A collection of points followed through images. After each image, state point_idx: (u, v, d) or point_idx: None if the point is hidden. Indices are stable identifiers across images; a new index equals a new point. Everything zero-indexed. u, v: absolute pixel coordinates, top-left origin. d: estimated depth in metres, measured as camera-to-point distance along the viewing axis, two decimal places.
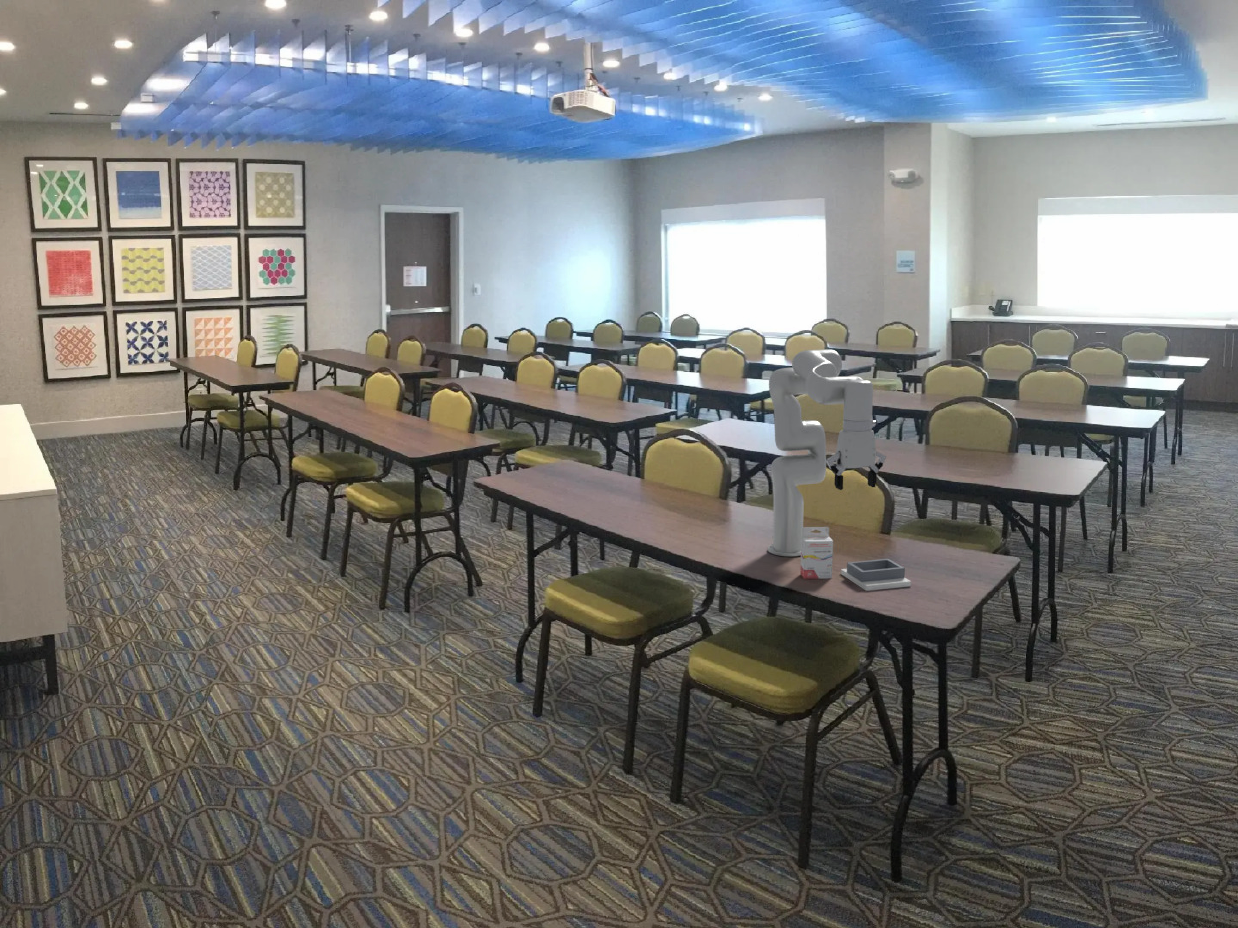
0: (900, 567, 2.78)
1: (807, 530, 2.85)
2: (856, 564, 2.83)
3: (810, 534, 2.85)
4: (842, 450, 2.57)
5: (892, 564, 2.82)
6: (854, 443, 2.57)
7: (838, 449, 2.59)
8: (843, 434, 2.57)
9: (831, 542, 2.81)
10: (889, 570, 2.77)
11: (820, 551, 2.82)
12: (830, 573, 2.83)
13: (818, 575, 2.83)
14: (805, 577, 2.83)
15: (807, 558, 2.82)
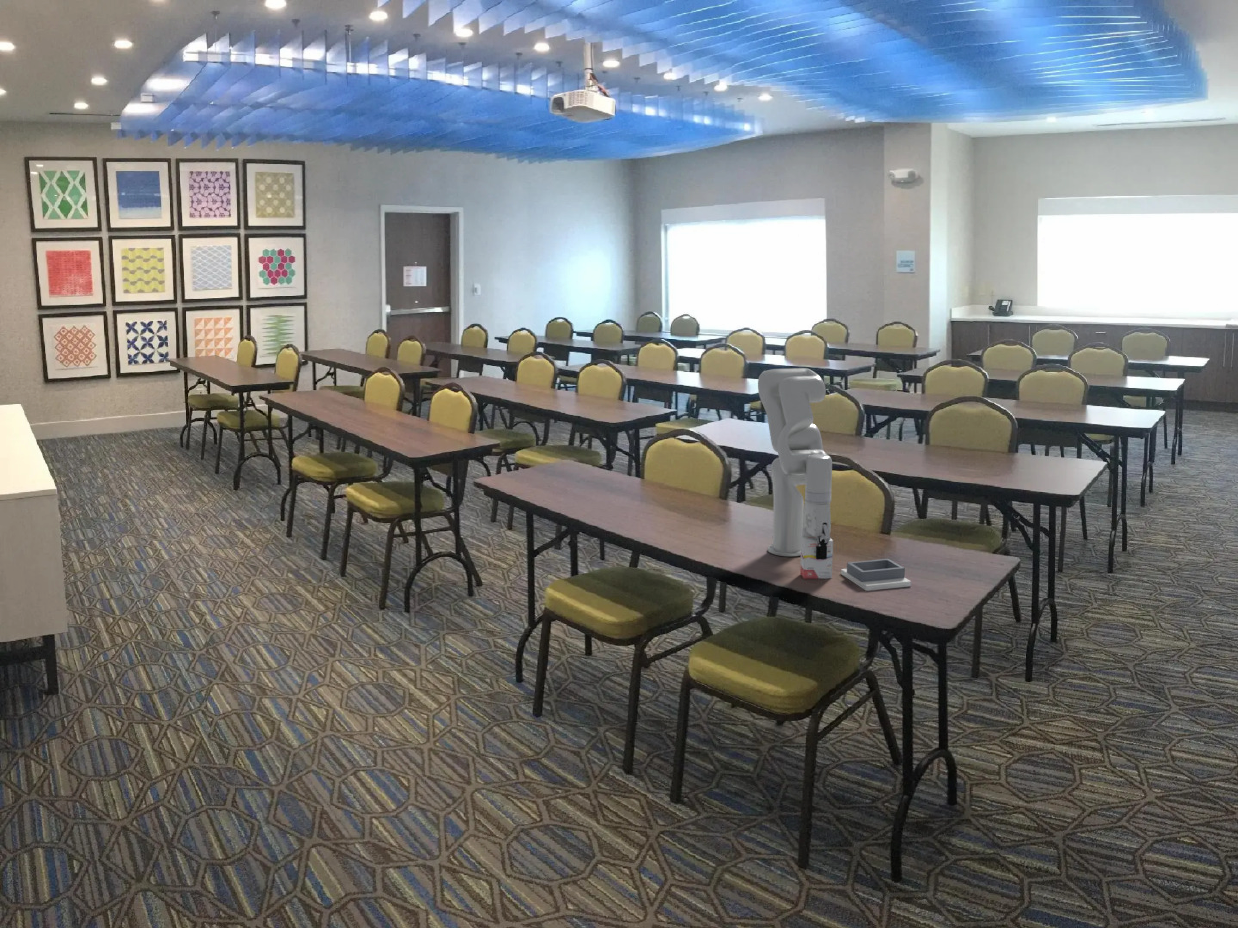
0: (900, 567, 2.78)
1: None
2: (856, 564, 2.83)
3: None
4: (829, 520, 2.78)
5: (892, 564, 2.82)
6: None
7: (822, 521, 2.77)
8: (826, 506, 2.77)
9: (831, 542, 2.81)
10: (889, 570, 2.77)
11: None
12: (830, 573, 2.83)
13: (818, 575, 2.83)
14: (805, 577, 2.83)
15: (807, 558, 2.82)
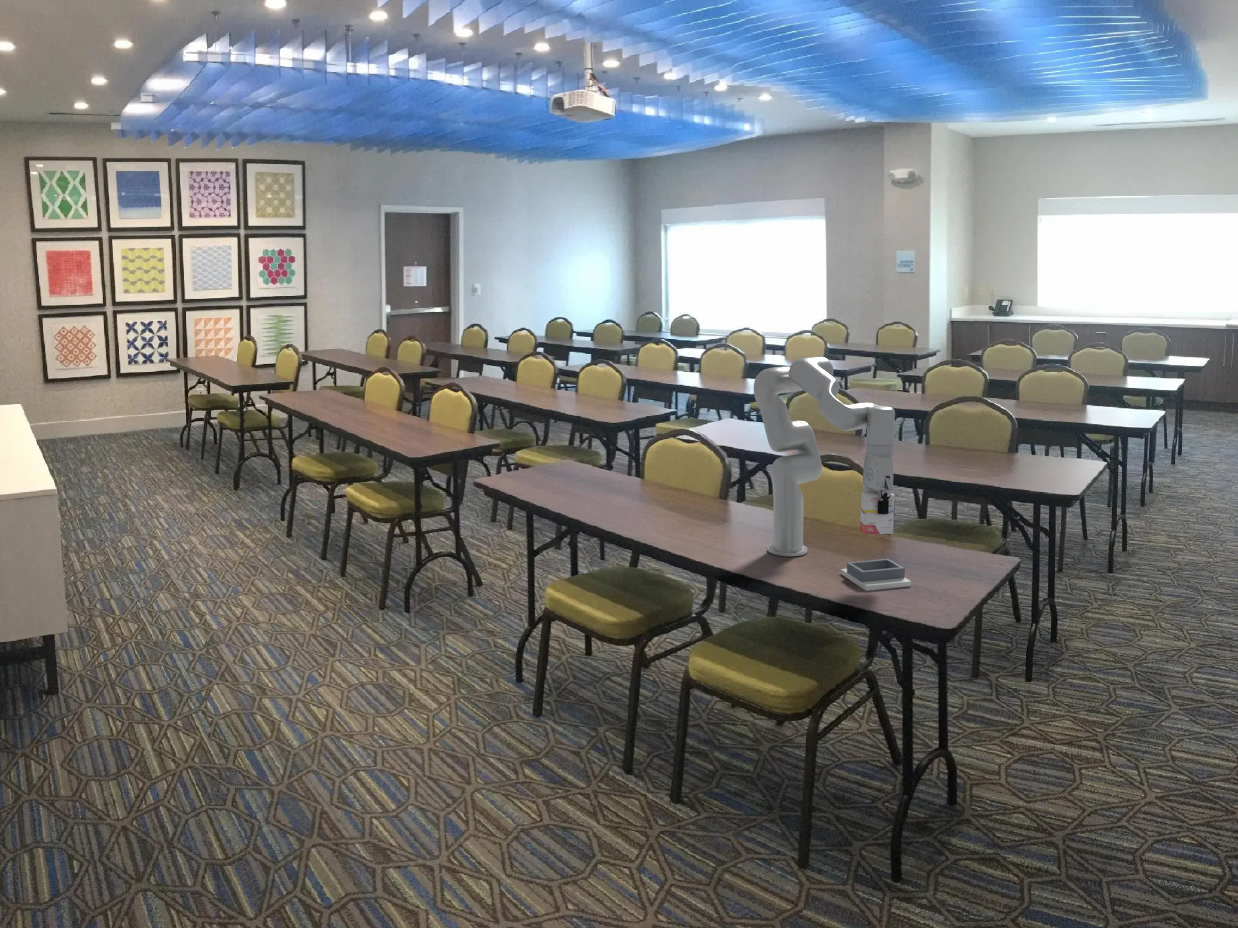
0: (900, 567, 2.78)
1: None
2: (856, 564, 2.83)
3: (870, 488, 2.78)
4: (892, 473, 2.71)
5: (892, 564, 2.82)
6: None
7: (885, 474, 2.70)
8: (889, 459, 2.70)
9: (893, 496, 2.74)
10: (889, 570, 2.77)
11: None
12: (891, 528, 2.76)
13: (879, 530, 2.76)
14: (866, 532, 2.76)
15: (868, 513, 2.75)
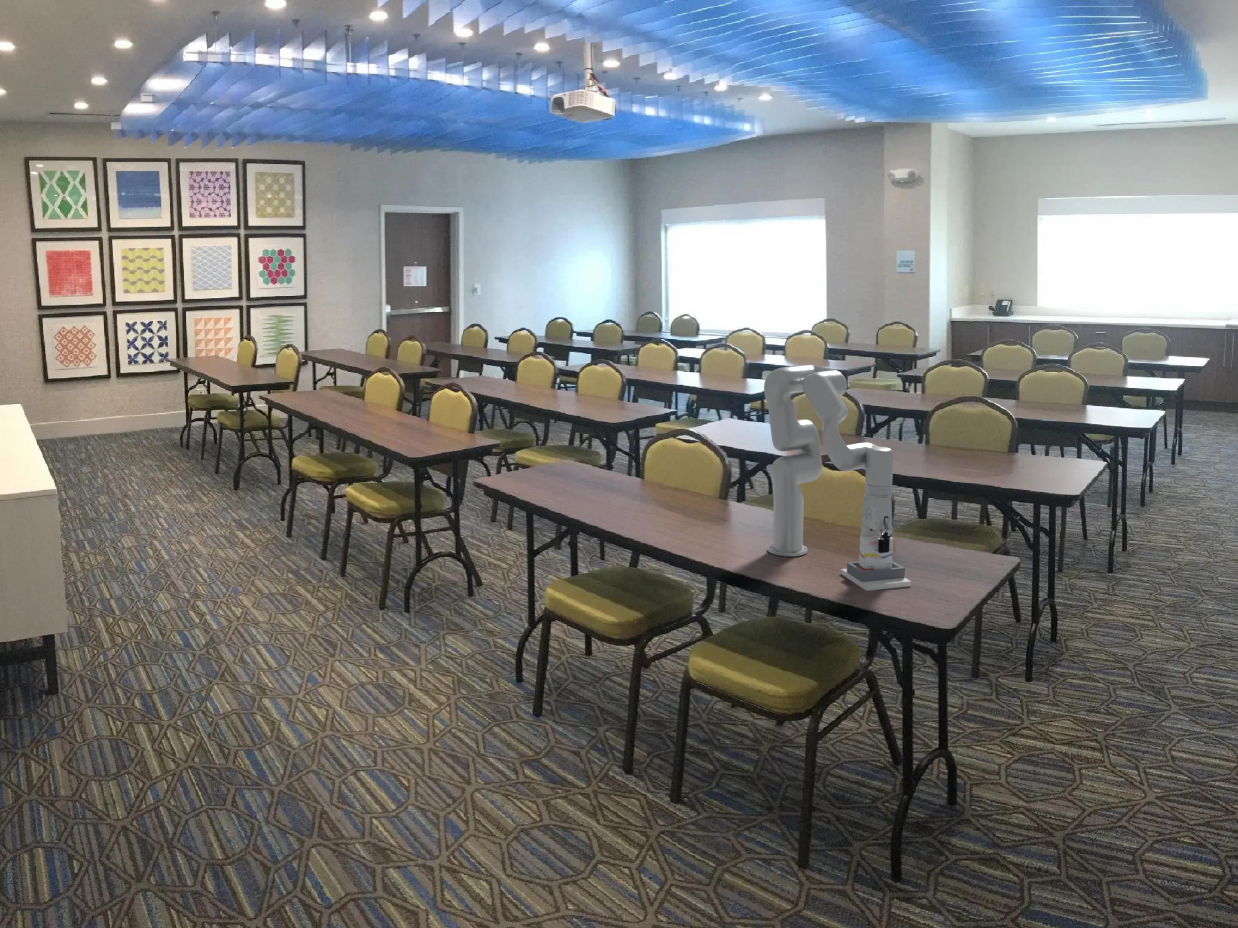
0: (900, 567, 2.78)
1: (866, 528, 2.80)
2: (856, 564, 2.83)
3: (869, 532, 2.81)
4: (890, 513, 2.73)
5: (892, 564, 2.82)
6: None
7: (884, 515, 2.72)
8: (887, 499, 2.72)
9: (891, 540, 2.77)
10: (889, 570, 2.77)
11: None
12: None
13: None
14: None
15: (867, 557, 2.77)
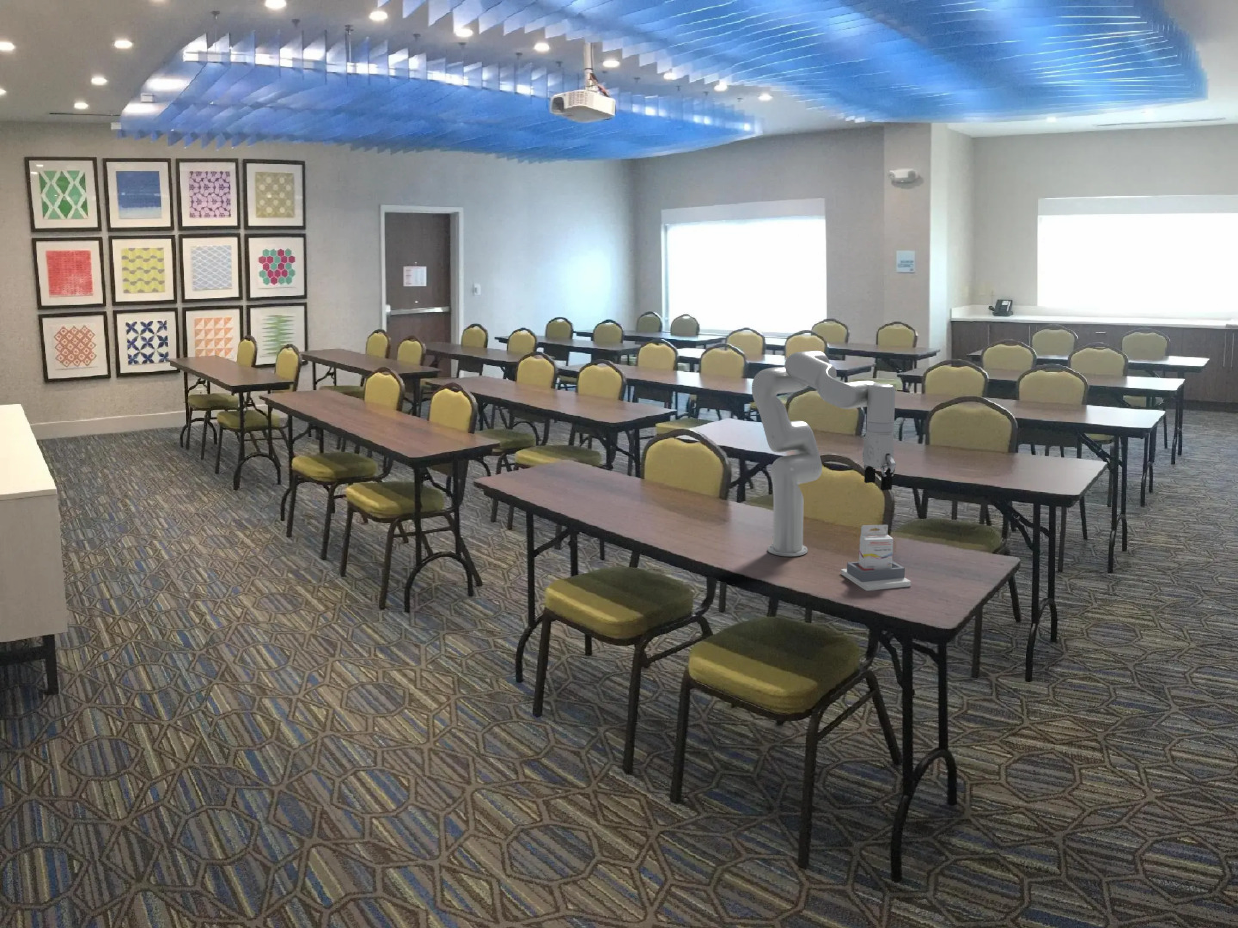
0: (900, 567, 2.78)
1: (866, 528, 2.80)
2: (856, 564, 2.83)
3: (869, 532, 2.81)
4: (892, 451, 2.69)
5: (892, 564, 2.82)
6: None
7: (885, 452, 2.69)
8: (889, 436, 2.69)
9: (891, 540, 2.77)
10: (889, 570, 2.77)
11: (880, 550, 2.77)
12: None
13: None
14: None
15: (867, 557, 2.77)
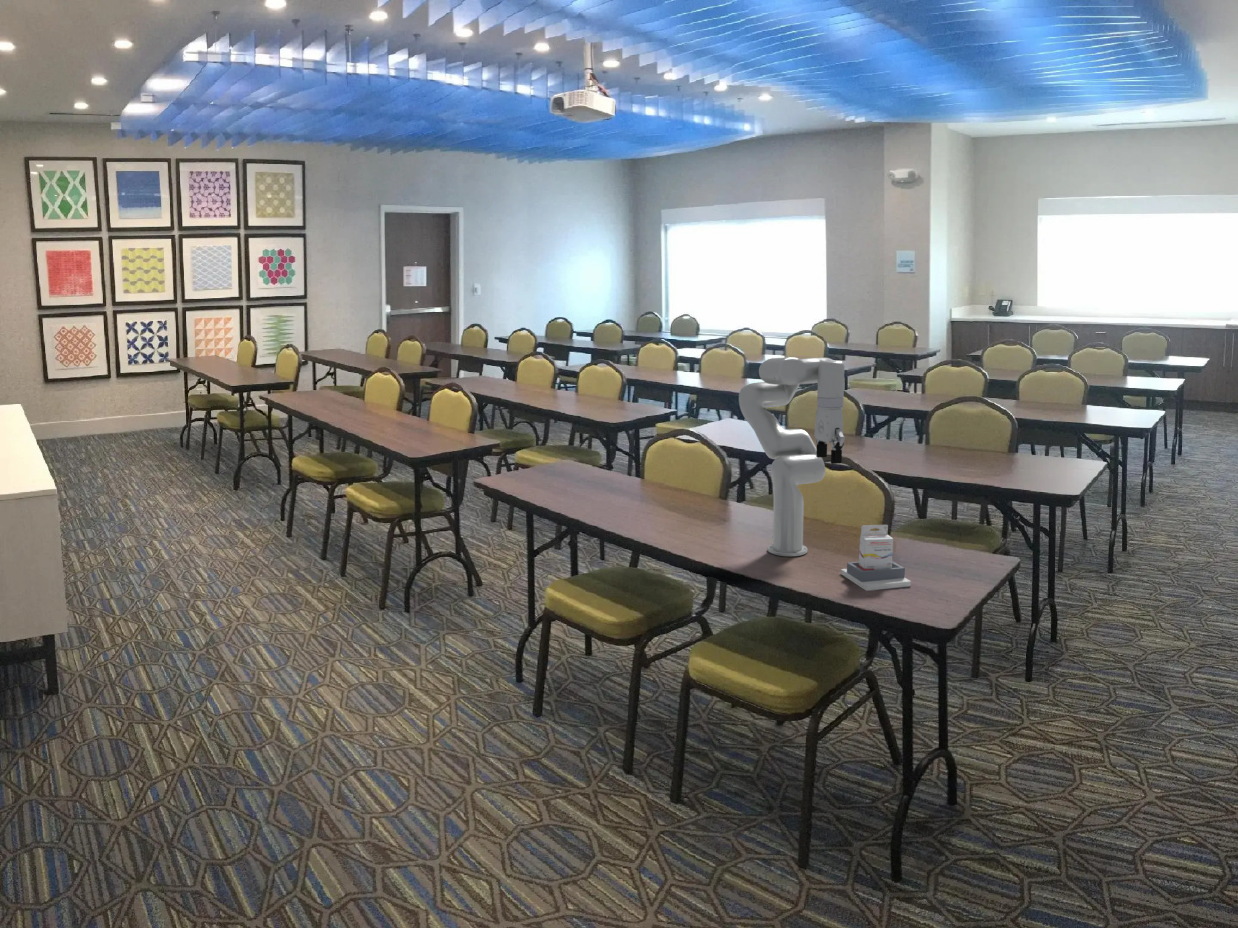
0: (900, 567, 2.78)
1: (866, 528, 2.80)
2: (856, 564, 2.83)
3: (869, 532, 2.81)
4: (841, 425, 2.77)
5: (892, 564, 2.82)
6: None
7: (835, 426, 2.77)
8: (839, 411, 2.77)
9: (891, 540, 2.77)
10: (889, 570, 2.77)
11: (880, 550, 2.77)
12: None
13: None
14: None
15: (867, 557, 2.77)
